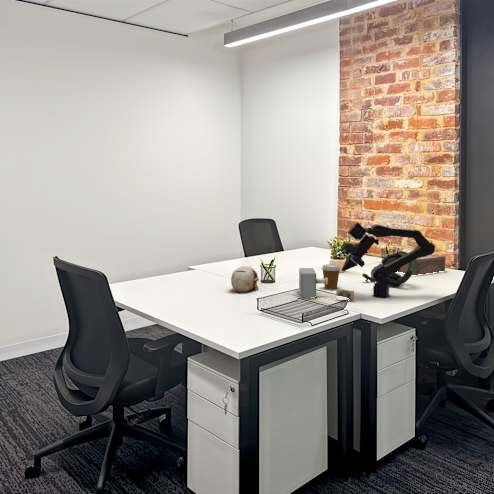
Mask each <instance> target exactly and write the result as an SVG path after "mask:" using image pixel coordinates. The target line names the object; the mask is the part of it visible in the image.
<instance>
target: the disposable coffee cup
mask: <svg viewBox="0 0 494 494" xmlns="http://www.w3.org/2000/svg"><path fill="white" fill-rule="evenodd" d="M321 270H322V275H323V279H325V278H328V284H327V285H326V284H323V285H324V289H325V290H337V289H338V282H339V275H340V270H341V266H340V265H339V264H333V263H331V264H330V263H329V264H323V265H322V267H321Z"/></svg>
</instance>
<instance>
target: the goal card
mask: <svg viewBox="0 0 494 494" xmlns="http://www.w3.org/2000/svg"><path fill="white" fill-rule="evenodd" d="M335 290H336V291H335V292H336V293H335V294H336V295H335V297H336V296H343V297H347V298H350V300H349V301H348V302H350V303H351V302H352V303H353V302H354V301H355V300H354V297H355V291H354V290H348V289H340V288H339V289H338V288H337V289H335Z"/></svg>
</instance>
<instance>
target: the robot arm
mask: <svg viewBox="0 0 494 494" xmlns="http://www.w3.org/2000/svg"><path fill="white" fill-rule="evenodd" d="M347 234H349V235H350V236H351V237H352V238H353V239H355V240H356V241H358V240H359V242H356V243H355V244H354V243H351V242H347V241H343V242H342V245H341V248H342V249H343V253H344V254H345V261H344V263H343V266H342V268H340V270H341V271H342V272H345V271H347V270H349V269H351V268H355V267H357V266H359V267H361V268H363V267H364V266H365V265H366V263H365V260H363V257H364V256H365V255H368V253H369V252H368V251H369V250H370V249H371V248H372V246H373V245H374V244H375V245H376V246H379V245H380V244H379V239H378V238H387V237H396V238H397V237H398V238H399V237H400V238H411V239H414V242H415V243H416V244H417V245H416V246H415V248H413V250H411V251H409V252H406V253H407V254H406V255H404V256H402V257H400V258H398V259H396V260H395V261H393V262H391V263H389V264H387V265H383V264H382V263H379V264H378V265H376V266H373V268H372V269H371V271H370V277H372V278H373V279H374V280H375V283H374V284H373V287H372V288H373V289H372V290H373V291H372V292H373V295H372V297H378V298H383V299H385V298H388V297H390V296H391V294H390V285H389V283H390V281H389V280H388V279H387V277H388V276H389V275H390V274H391V273H392V272H393V271H395V270H397V269H399V268H401V267H402V266H404V265H406V264H408V263H410V262H412V261H413V260H415V259H417V258H420V257H425V256H428V255H431V254H432V255H434V253H435V251H436V247H435V245H434V243H432V242H429V240H428V239H427V238H426V237H425V236H424V235H423V234H422V232H421V231H420V230H417V229H404V228H403V229H402V228H393V227H388V226H384V225H380V224H373V225H372V226H370V227H367V228H364V227H363V226H362V224H360V223H359V222H357V221H356V222H355V223H354V224H353V225H351V226H350V227H349V229H348V230H347ZM369 235H370V236H369ZM341 248H340V249H341Z"/></svg>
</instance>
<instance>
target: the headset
mask: <svg viewBox="0 0 494 494" xmlns="http://www.w3.org/2000/svg"><path fill="white" fill-rule="evenodd" d="M407 253H408V252H407V251H403V250H402V251H397V252H395V253H393V254H389V255H387V256H385V257H384V258H383V259H382V263H381V264H383V265H387V264H389V263H391V262H393V261H395V260H396V259H398V258H400V257H402V256H404V255H406V254H407ZM414 268H415V261H414V260H413V261H412V262H410V263H408V269H407V271H406V272H405V274H400V273H396V272H397V271H399V270H400V269H401V268H399V269H397V270H395V271H393V272H392V273H391V274H390V275H389V276H388V277H387V279H388V280H389V281H390V283H389V287H390V286H391V287H396V286H398V287H400V286H401V285H403V284H405V283H406V282H407V281H409V280H410V278H412V276H411V275H412V274H413V271H414ZM361 275H362V277H363V278H364V279H365V282H366V283H369V281H370V282H371V281H373V282H374V281H375V280H374V279H373V278H372V277H371V276H369V275H368V274H366V273H362V274H361Z"/></svg>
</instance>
